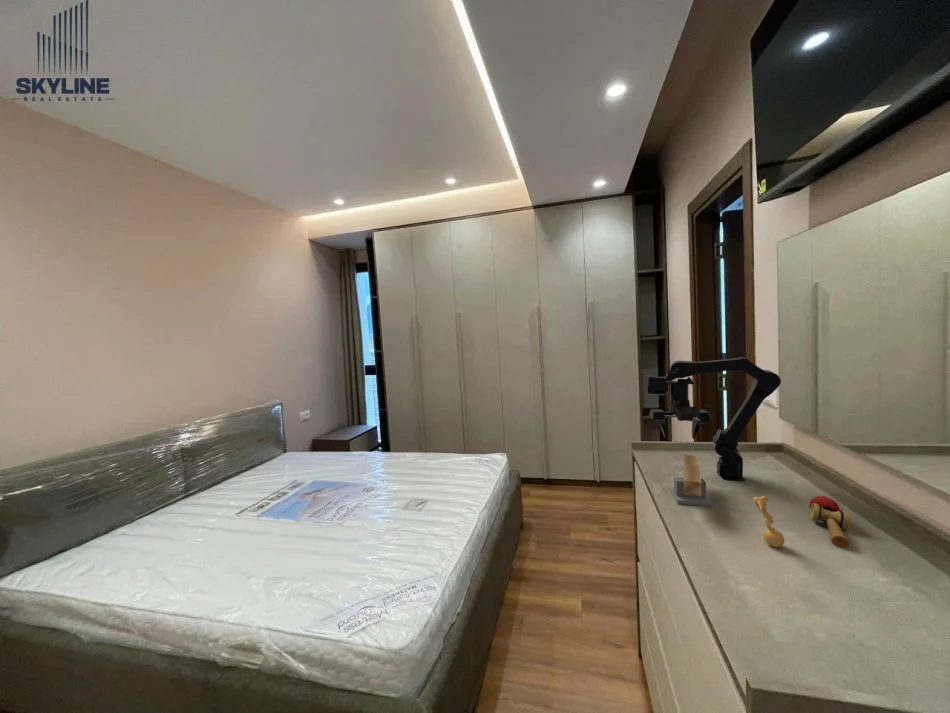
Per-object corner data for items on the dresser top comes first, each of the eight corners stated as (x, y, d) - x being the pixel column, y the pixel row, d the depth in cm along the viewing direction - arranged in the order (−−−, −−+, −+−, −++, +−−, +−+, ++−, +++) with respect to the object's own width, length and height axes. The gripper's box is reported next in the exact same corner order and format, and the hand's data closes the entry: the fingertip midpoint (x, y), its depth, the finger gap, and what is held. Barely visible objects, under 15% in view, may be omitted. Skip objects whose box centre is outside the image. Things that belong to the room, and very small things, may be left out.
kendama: (867, 558, 84) (843, 512, 99) (862, 533, 84) (839, 491, 98) (822, 553, 89) (805, 510, 103) (817, 529, 88) (801, 490, 103)
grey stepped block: (701, 493, 115) (701, 475, 114) (711, 506, 107) (711, 486, 107) (669, 491, 117) (669, 473, 117) (677, 503, 109) (677, 484, 109)
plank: (697, 467, 120) (697, 456, 120) (701, 496, 101) (701, 482, 101) (683, 466, 122) (683, 454, 122) (684, 493, 103) (684, 480, 103)
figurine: (787, 557, 83) (788, 507, 82) (754, 549, 87) (755, 501, 86) (781, 538, 90) (782, 492, 89) (750, 532, 94) (751, 487, 93)
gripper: (656, 400, 126) (656, 444, 127) (717, 400, 121) (717, 446, 123) (649, 394, 136) (649, 434, 138) (705, 394, 132) (704, 436, 133)
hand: (679, 438), depth 133 cm, fingers open, 9 cm apart
